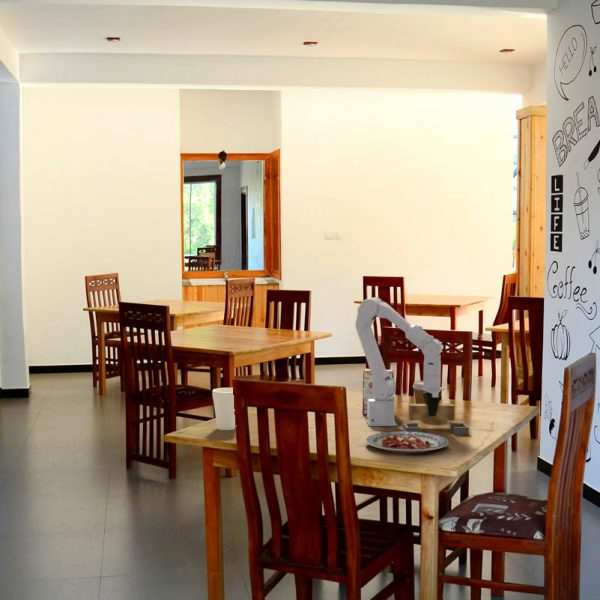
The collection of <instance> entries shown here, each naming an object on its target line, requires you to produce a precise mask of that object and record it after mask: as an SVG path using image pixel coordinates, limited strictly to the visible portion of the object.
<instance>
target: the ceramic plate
mask: <svg viewBox="0 0 600 600" xmlns="http://www.w3.org/2000/svg"><path fill="white" fill-rule="evenodd" d="M365 443H366V444H368V446H371V447H374V448H378V449H382V450H384V451H387V452H391V451H392V452H391V453H398V452H400V453H401V454H419V452H421V453H426V451H427V452H430V450H431V451H434V450H439V449H442V448H445V447H447V446H448V445H449V440H448V439H447V438H445V437H443V436H440V435H437V434H434V433H428V432H422V431H421V432H408V431H400V430H398V431H386V432H385V431H384V432H383V431H382V432H378V433H374V434H373V433H372V434H371V435H368V436H367V437H366V438H365Z"/></svg>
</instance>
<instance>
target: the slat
mask: <svg viewBox="0 0 600 600" xmlns="http://www.w3.org/2000/svg"><path fill="white" fill-rule="evenodd" d="M455 407H456V406H455V404H453V403H439V404H438V408H437V413H436V416H429V412H428V405H427V404H415V403H408V420H409V421H455Z"/></svg>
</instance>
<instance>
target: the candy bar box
mask: <svg viewBox="0 0 600 600" xmlns="http://www.w3.org/2000/svg"><path fill="white" fill-rule="evenodd" d="M386 370H387V371H388V373H389V375H390V377H391V379H392V380H393V381H394V382H395V370H394V369H386ZM362 371H363V373H362V374H363V375H362V412H361V413H362V415H363V416H367V403H368V399H374V395H373V392H372V388H373V384H372V373H371V370H370V368H364V370H362ZM393 396H394V397H395V392H394V393H393ZM364 414H365V415H364Z"/></svg>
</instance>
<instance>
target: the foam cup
mask: <svg viewBox="0 0 600 600" xmlns="http://www.w3.org/2000/svg"><path fill="white" fill-rule="evenodd" d="M233 388H234V387H220V388H219V387H218V388H213V390H212V400H213V406H214V414H215V421H216V422H215V423H216V427H217V429H218V430H219V431H231V430H232V431H233V430H236V429H235V415H234V411H235V409H234V395H233Z"/></svg>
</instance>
